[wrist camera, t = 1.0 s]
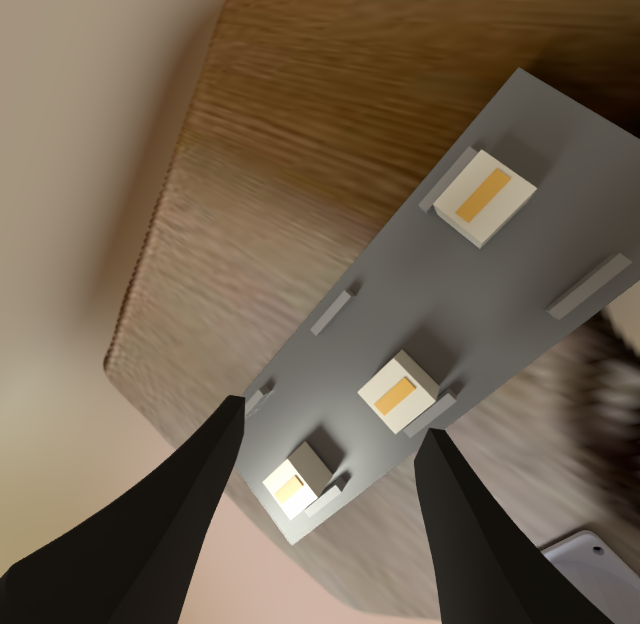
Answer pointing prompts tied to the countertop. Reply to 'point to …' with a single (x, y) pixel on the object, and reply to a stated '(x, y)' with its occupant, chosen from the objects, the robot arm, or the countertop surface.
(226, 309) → the countertop surface
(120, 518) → the robot arm
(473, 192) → the switch
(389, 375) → the switch mid
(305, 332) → the power strip
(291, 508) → the switch
